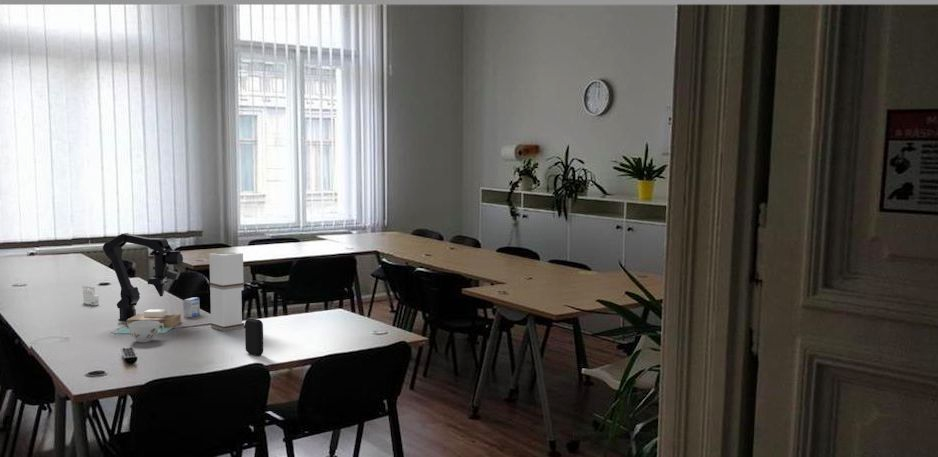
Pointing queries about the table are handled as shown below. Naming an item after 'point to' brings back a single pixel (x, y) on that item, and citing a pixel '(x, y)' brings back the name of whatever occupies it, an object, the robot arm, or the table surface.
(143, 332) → the teacup
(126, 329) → the mat
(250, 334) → the carrying case or bag
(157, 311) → the white rectangular block
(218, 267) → the white square table lamp
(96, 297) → the ink cartridge box
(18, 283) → the table surface
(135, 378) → the table surface
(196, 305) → the medicine box
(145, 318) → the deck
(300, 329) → the table surface
